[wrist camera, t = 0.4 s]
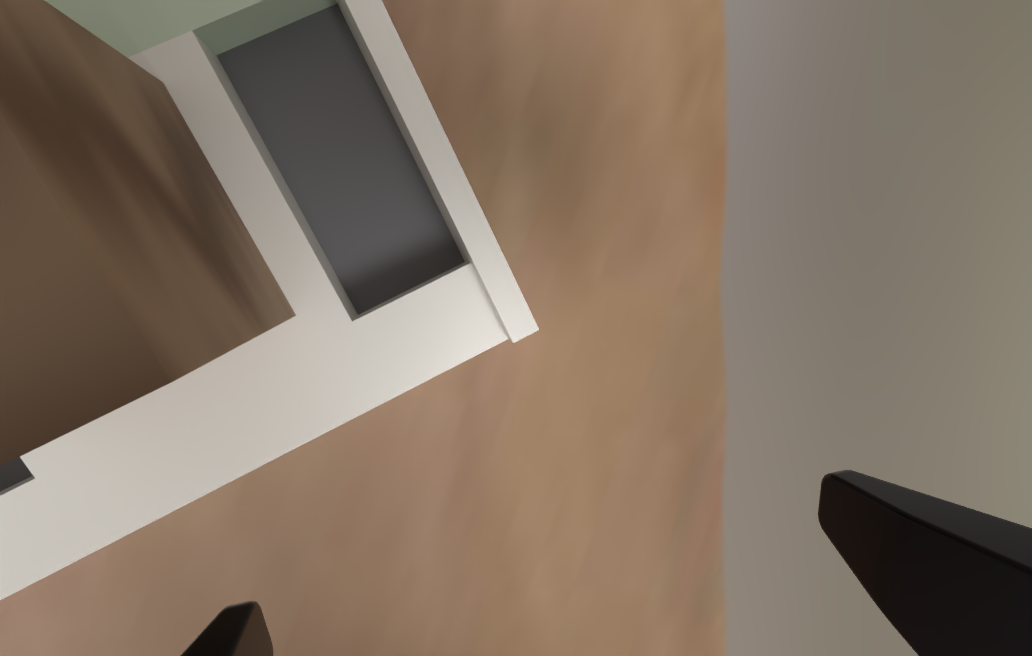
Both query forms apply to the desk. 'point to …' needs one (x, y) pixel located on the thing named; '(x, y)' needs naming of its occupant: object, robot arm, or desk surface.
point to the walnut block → (107, 236)
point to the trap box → (280, 263)
